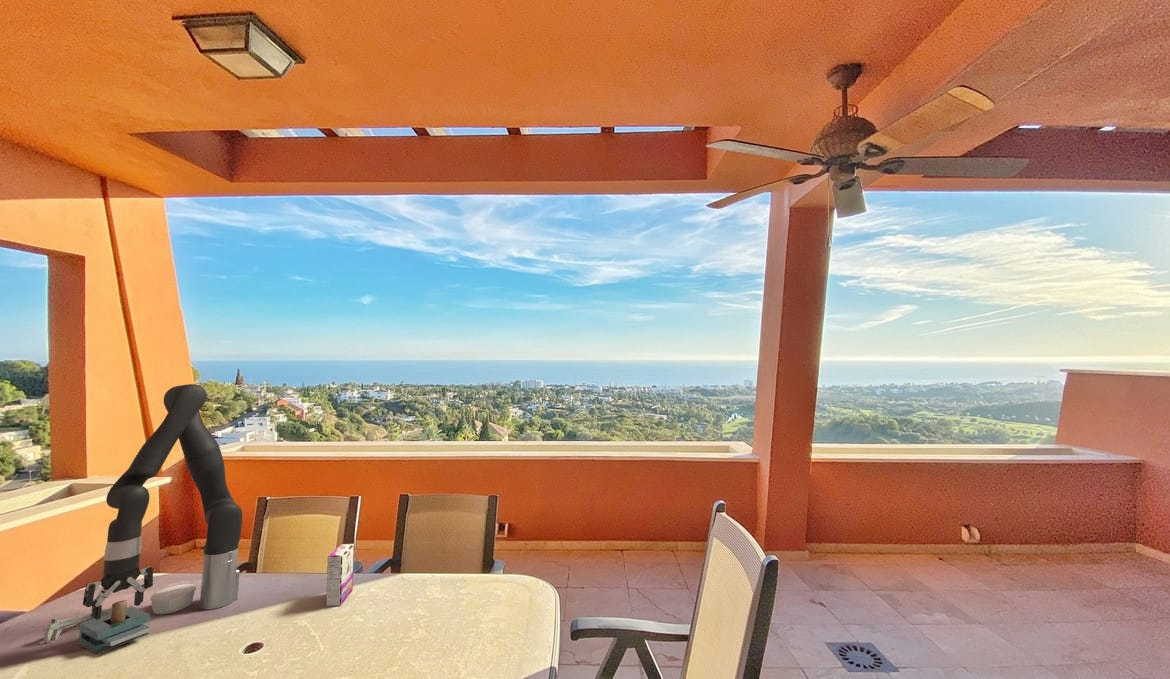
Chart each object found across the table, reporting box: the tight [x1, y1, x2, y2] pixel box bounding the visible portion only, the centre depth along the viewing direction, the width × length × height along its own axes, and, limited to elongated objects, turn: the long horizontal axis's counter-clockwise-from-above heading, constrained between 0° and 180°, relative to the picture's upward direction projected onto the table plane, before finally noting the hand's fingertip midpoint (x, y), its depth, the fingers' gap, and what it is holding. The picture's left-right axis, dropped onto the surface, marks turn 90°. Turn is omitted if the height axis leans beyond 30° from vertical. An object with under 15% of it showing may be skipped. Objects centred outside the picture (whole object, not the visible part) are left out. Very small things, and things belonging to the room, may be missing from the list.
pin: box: [110, 600, 128, 625], centre depth 131 cm, size 3×3×10 cm
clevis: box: [78, 605, 151, 655], centre depth 130 cm, size 11×16×6 cm
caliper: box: [43, 606, 112, 644], centre depth 138 cm, size 20×1×6 cm, turn 178°
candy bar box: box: [325, 543, 355, 608], centre depth 155 cm, size 11×5×16 cm, turn 8°
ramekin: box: [150, 583, 197, 615], centre depth 149 cm, size 11×11×5 cm
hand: (117, 611), depth 131 cm, fingers open, 8 cm apart
